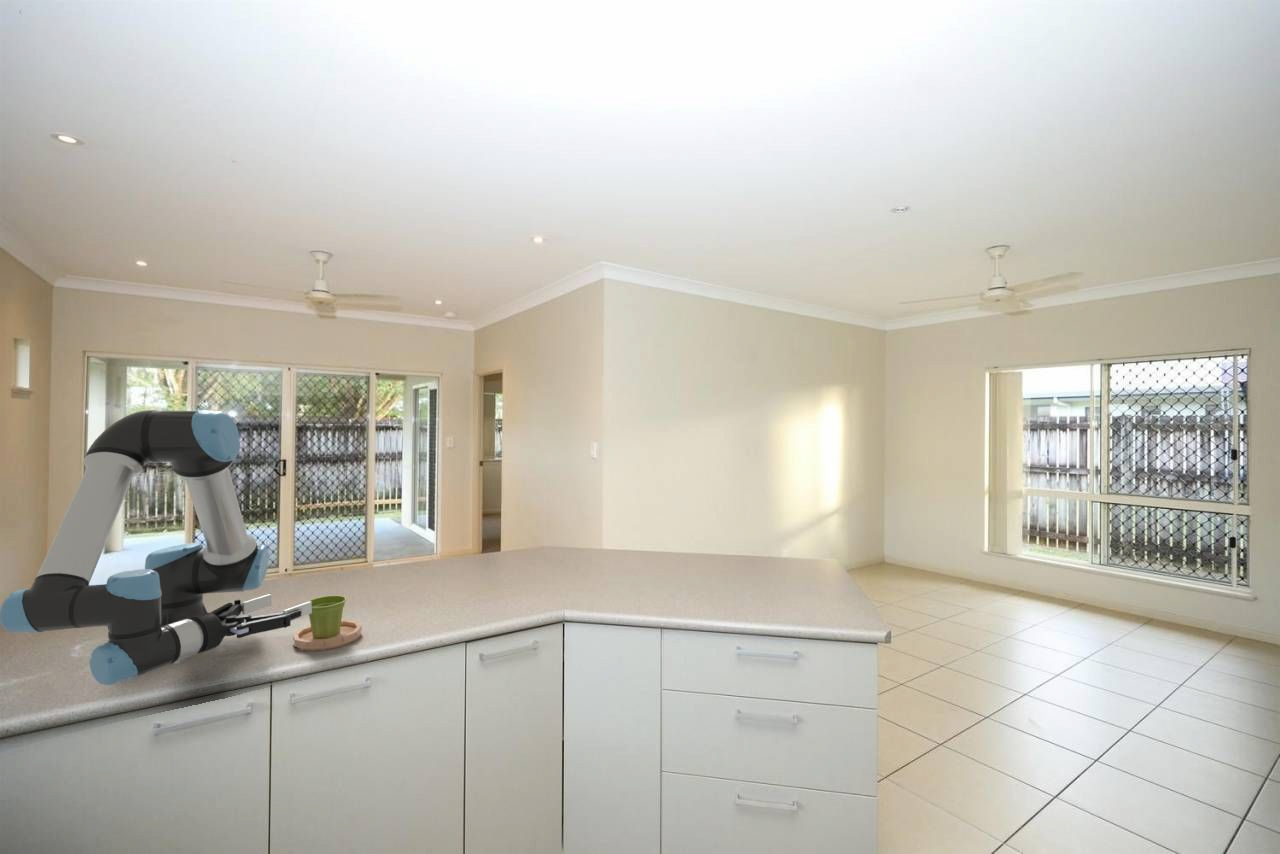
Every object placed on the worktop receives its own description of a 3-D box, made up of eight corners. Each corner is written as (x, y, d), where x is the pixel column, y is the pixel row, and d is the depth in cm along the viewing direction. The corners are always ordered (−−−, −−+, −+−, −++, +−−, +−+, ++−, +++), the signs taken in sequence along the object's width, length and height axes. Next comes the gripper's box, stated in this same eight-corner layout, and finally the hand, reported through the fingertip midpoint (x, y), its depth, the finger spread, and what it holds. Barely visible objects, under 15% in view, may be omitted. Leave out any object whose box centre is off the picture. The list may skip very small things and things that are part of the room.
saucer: (279, 645, 142) (279, 636, 142) (332, 625, 156) (332, 617, 156) (323, 654, 137) (323, 645, 137) (373, 633, 151) (373, 624, 151)
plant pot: (315, 644, 140) (314, 609, 140) (298, 636, 146) (298, 602, 145) (353, 633, 147) (353, 599, 147) (336, 625, 153) (335, 593, 153)
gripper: (155, 644, 122) (254, 611, 141) (233, 664, 112) (328, 626, 132) (154, 609, 121) (254, 581, 141) (233, 627, 112) (328, 594, 132)
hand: (290, 603), depth 137 cm, fingers open, 13 cm apart
